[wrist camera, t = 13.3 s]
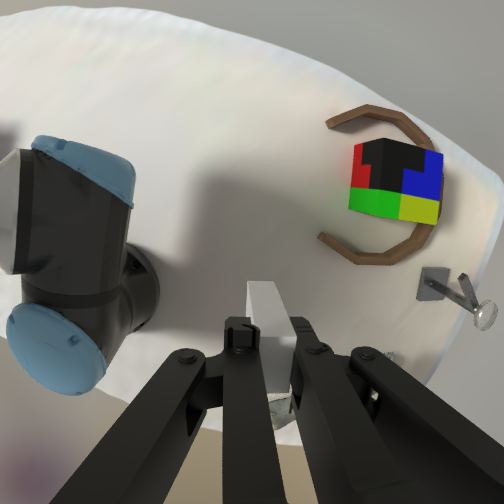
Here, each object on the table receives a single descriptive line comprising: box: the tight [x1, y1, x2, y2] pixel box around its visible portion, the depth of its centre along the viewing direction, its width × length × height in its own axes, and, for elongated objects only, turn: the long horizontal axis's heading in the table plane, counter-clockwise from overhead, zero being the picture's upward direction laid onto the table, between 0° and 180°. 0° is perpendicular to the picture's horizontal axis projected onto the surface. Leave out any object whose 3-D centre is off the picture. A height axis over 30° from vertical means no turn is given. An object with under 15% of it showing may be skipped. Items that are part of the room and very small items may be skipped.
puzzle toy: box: [348, 138, 443, 225], centre depth 40 cm, size 10×10×10 cm
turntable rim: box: [318, 104, 444, 266], centre depth 43 cm, size 24×21×3 cm
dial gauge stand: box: [416, 267, 498, 331], centre depth 41 cm, size 8×8×16 cm
